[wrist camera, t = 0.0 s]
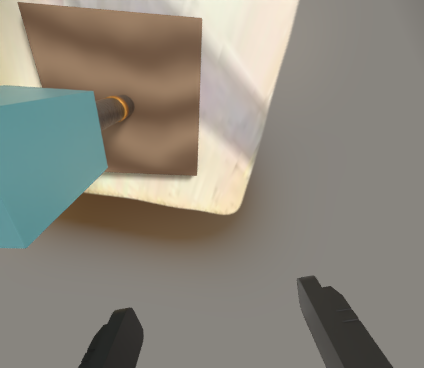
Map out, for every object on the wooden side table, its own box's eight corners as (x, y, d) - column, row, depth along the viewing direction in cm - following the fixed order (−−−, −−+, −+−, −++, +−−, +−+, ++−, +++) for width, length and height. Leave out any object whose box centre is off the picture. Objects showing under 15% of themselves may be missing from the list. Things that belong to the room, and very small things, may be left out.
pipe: (111, 93, 24) (-518, 225, 3) (134, 94, 24) (-318, 230, 3) (114, 115, 25) (-320, 323, 4) (136, 117, 26) (-181, 323, 4)
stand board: (28, 6, 22) (17, 2, 20) (202, 21, 23) (201, 18, 21) (72, 166, 30) (66, 170, 29) (197, 171, 31) (196, 175, 30)
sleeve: (4, 85, 13) (-250, 100, 6) (93, 91, 13) (-41, 112, 6) (34, 164, 15) (-117, 245, 8) (107, 167, 15) (26, 248, 8)
